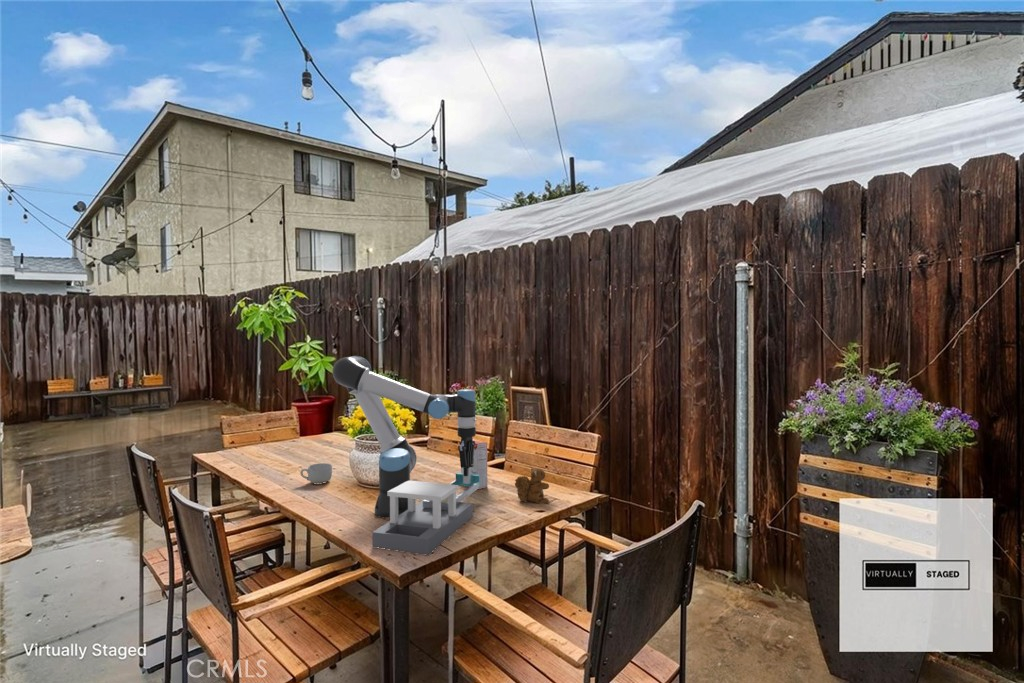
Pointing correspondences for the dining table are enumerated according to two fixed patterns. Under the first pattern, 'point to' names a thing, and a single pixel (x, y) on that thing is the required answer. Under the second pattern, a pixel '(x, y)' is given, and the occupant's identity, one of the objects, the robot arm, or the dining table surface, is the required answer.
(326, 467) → the teacup
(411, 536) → the tunnel track
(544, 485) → the stuffed squirrel
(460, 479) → the sled
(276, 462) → the dining table surface
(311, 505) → the dining table surface
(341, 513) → the dining table surface
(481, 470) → the cracker box
